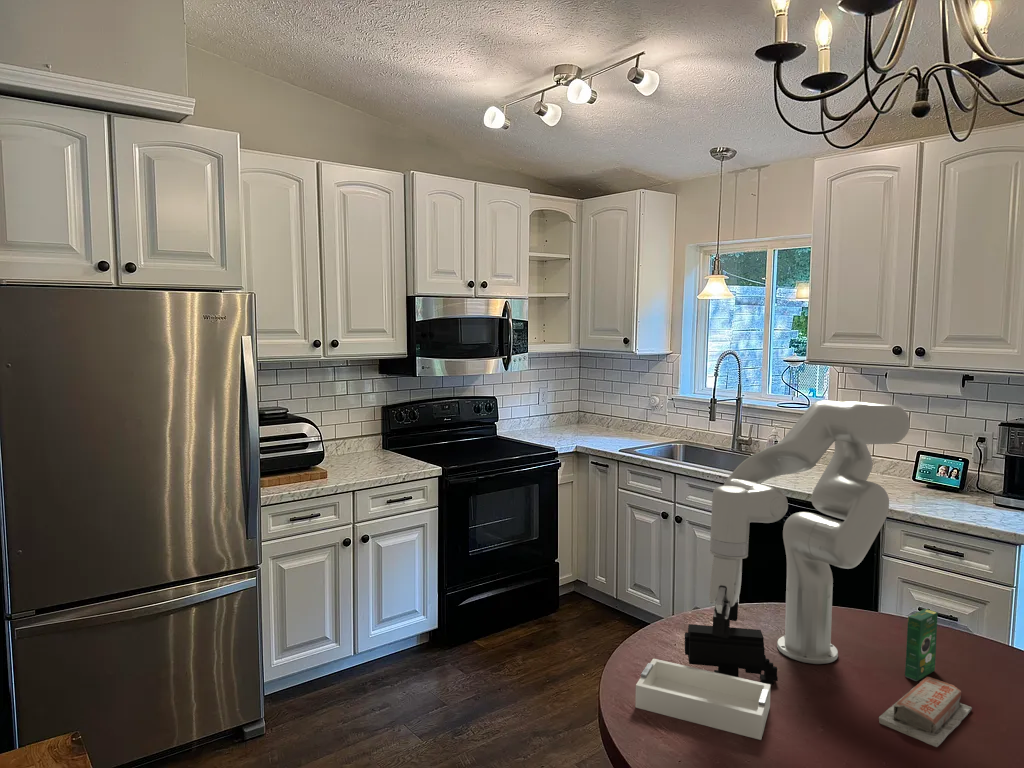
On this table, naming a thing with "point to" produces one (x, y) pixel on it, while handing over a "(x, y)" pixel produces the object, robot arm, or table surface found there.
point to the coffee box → (921, 644)
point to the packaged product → (927, 711)
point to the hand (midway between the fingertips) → (725, 627)
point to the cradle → (704, 697)
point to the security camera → (730, 651)
